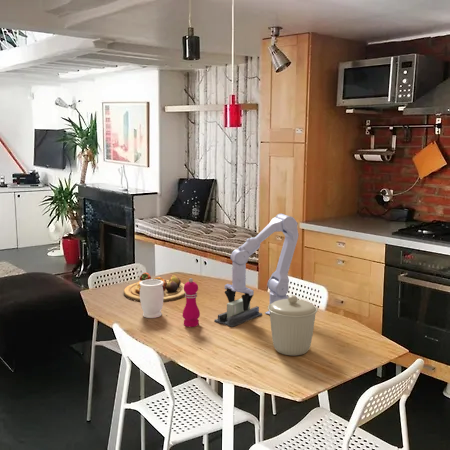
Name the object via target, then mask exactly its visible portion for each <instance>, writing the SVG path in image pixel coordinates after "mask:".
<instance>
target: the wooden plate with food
mask: <svg viewBox="0 0 450 450" xmlns="http://www.w3.org/2000/svg"><path fill="white" fill-rule="evenodd" d="M149 279H152V277H151V275H150V273H148V272H147V271H146V272H143V273H142V274H141V275H139V281H137V282H134V283H131V284H129V285H127V286H126V287H125V288H124V289H123V295H124V296H125V298H127V299H128V298H129V299H128V300H131V299H132V301H134V300H136V301H135V302H139V301H140V288H141V286H140V282H141V281H143V280H149ZM153 279H157V280H162V281H163V285H162V287H163V292H164V299H163V303H165V302H171V301H176V300H180V299H182V298H184V297H185V293H186V292H185V291H184V285H185V284H186V283H185V284H184V283H183V282H182V281H181V279H180V278H179V277H178V276H177V275H174V274H173V275H171V276H170V278H169V279H165V278H163V277H160V276H156V277H155V278H153Z"/></svg>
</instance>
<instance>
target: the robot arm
mask: <svg viewBox="0 0 450 450" xmlns="http://www.w3.org/2000/svg"><path fill="white" fill-rule="evenodd" d="M298 224H299V223H298V222H297V220H296V219H295V218H294V216H291V215H290V216H289V215H286V214H284V213H278V214H276V216H275V217H273V218H271V220H270V222H269V223H268V224H267V225H266V226H265V227H263V229H262V230H260V232H259V233H258V234H256V236H255V237H254V236H253V237H250V238H249V237H248V238H246V241H245V242H244V243H243V244H241V245H240V246H238V248H235V249H234V250H233V251H232V252H231V253H230V260H231V261H232V268H231V269H232V270H231V271H232V273H231V274H232V275H231V277H232V279H231V283H226V284H224V290H225V291H224V294H225V296H226V298H227V300H228V303H229V302H232V301H235V300H236V293H241V294H242V295H241V297H240V298H242V300H243V310H244V311H246V310H248V307H249V303H250V304H251V300H252V298H253V297H254V291H255V290H253V289H251V288H249V287H247V285H246V282H247V281H246V280H247V278H246V276H247V275H246V270H247V269H246V268H247V267H246V265H247V264H246V263H248V261H249V258H250V257H251V256H252V255H253V254H254V253H255V252H256V251H258V250H259V249H260V247H261V243H262V242H264V241H265V240H267V238H269V237H270V236H272V235H273V233H277V232H282V234H283V235H284V240H283V244H282V248H281V251H280V254H279V258H278V261H277V266H276V268H275V271H274V272H272V273H271V275H270V278H269V279H267V280H268V281H267V288H268V289H269V304H268V306H269V305H270V304H271V303H273V302H275V301H278V300H282V299H288V297H289V296H290V295H289V296H288V295H287V294H288V292H289V288H290V287H289V284H290V283H289V282H290V278H289V275H288V274H289V271H290V268H291V264H292V260H293V257H294V253H295V250H296V247H297V244H298V239H299V229H298ZM264 314H266V315H268V316H270V311H269V310H268V311H266V312H264Z"/></svg>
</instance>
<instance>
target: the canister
mask: <svg viewBox="0 0 450 450" xmlns="http://www.w3.org/2000/svg"><path fill="white" fill-rule="evenodd" d="M269 304H270V303H269ZM269 304H268V306H267V310H268V311H270V315H269V319H270V320H269V321H270V329H271V339H272V344H273V347H274V350H276V351H277V352H278V353H279V354H282V355H285V356H291V357H292V356H302V355H304V354H306V353H307V352H308V351H309V350H310V348H311V344H312V339H313V334H314V327H315V319H316V314H317V313H318V311H319V310H318V309H319V308H318V307H317V306H316V305H315V304H313V303H312V302H309V301H308V300H304V299H298V296H296V295H294V294H292V295H291V294H290V295H289V297H288V299H282V300H278V301H275V302H273V303H271V304H270V305H269Z"/></svg>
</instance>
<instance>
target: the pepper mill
mask: <svg viewBox="0 0 450 450" xmlns="http://www.w3.org/2000/svg"><path fill="white" fill-rule="evenodd" d="M198 285H199V284H197V282H195V281H194V279H193V278H192V277H189V278H188V281H187V282H185V285H184V291H185V292H186V293H185V296H184V297H185V300H186V301H185V306H184V308H183V311H182V317H183V319H184V320H183V326H185V327H187V328H195V327H197V326H199V325H200V323H199V322H200V321H199V318H200V316H201V313H200V309H199V307H198V304H197V297H198V293H197V292H198V291H199V286H198Z"/></svg>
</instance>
